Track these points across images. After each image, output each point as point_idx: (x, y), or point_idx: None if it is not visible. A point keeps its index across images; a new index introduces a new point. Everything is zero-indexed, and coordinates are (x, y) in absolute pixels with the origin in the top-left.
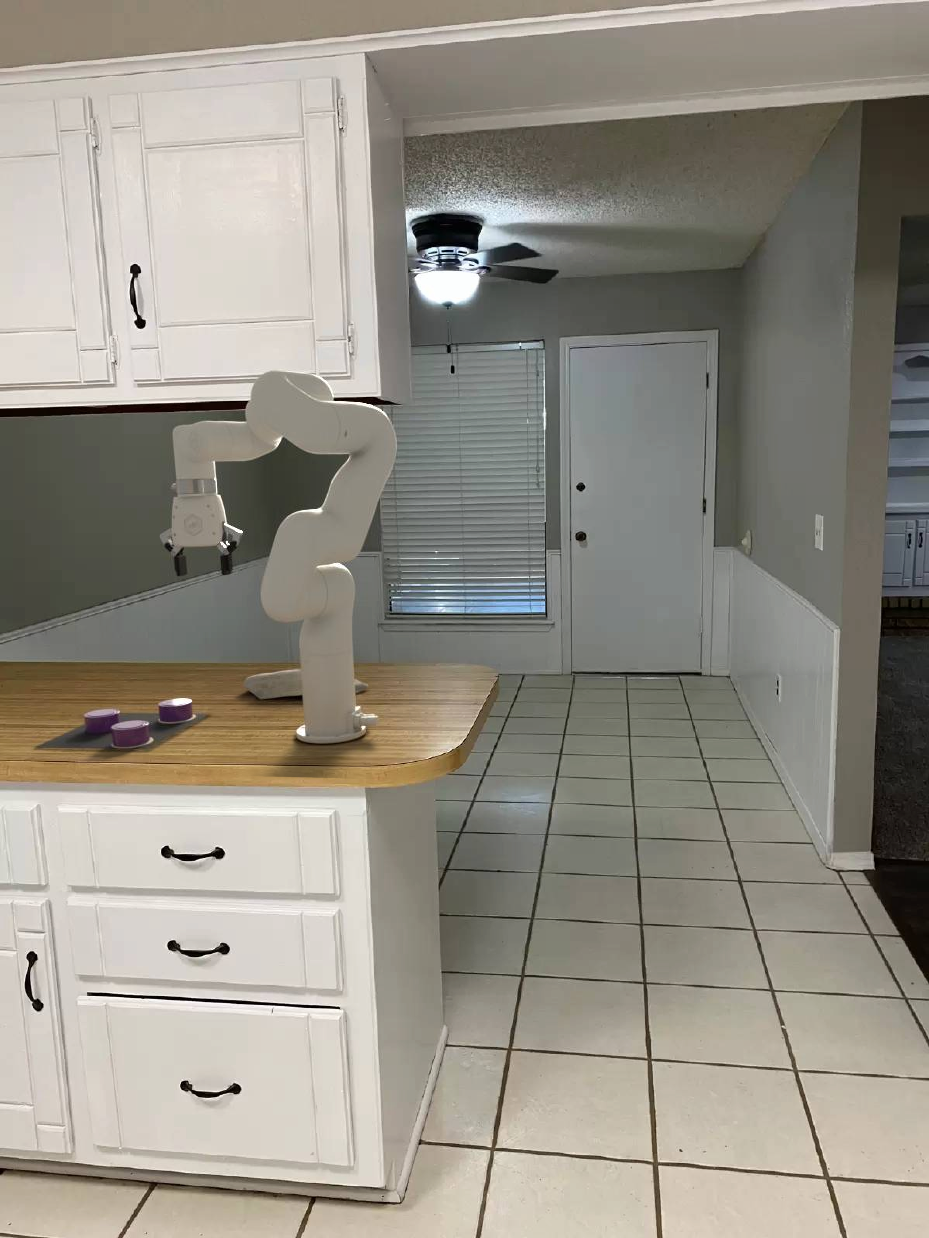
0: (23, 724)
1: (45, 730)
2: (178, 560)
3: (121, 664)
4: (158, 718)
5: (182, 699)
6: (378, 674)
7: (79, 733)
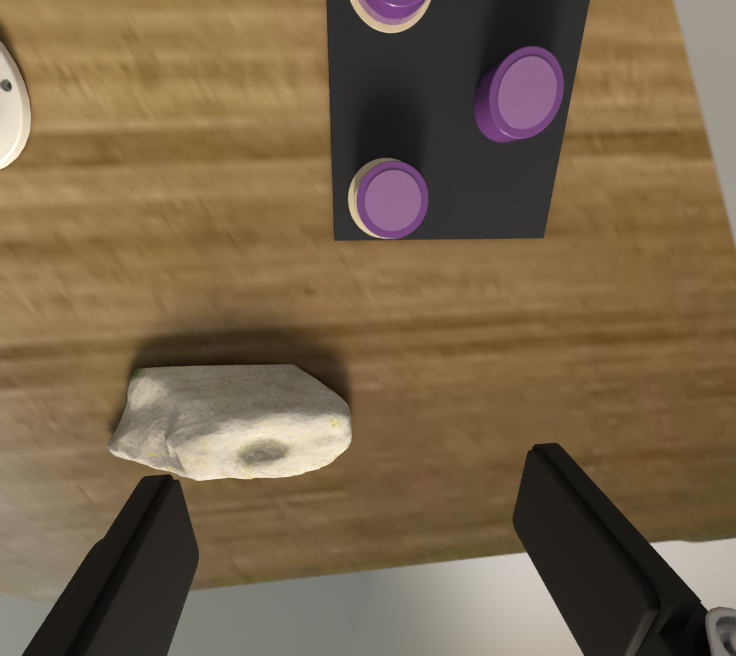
0: (687, 156)
1: (629, 108)
2: (624, 559)
3: None
4: None
5: (386, 225)
6: None
7: None
